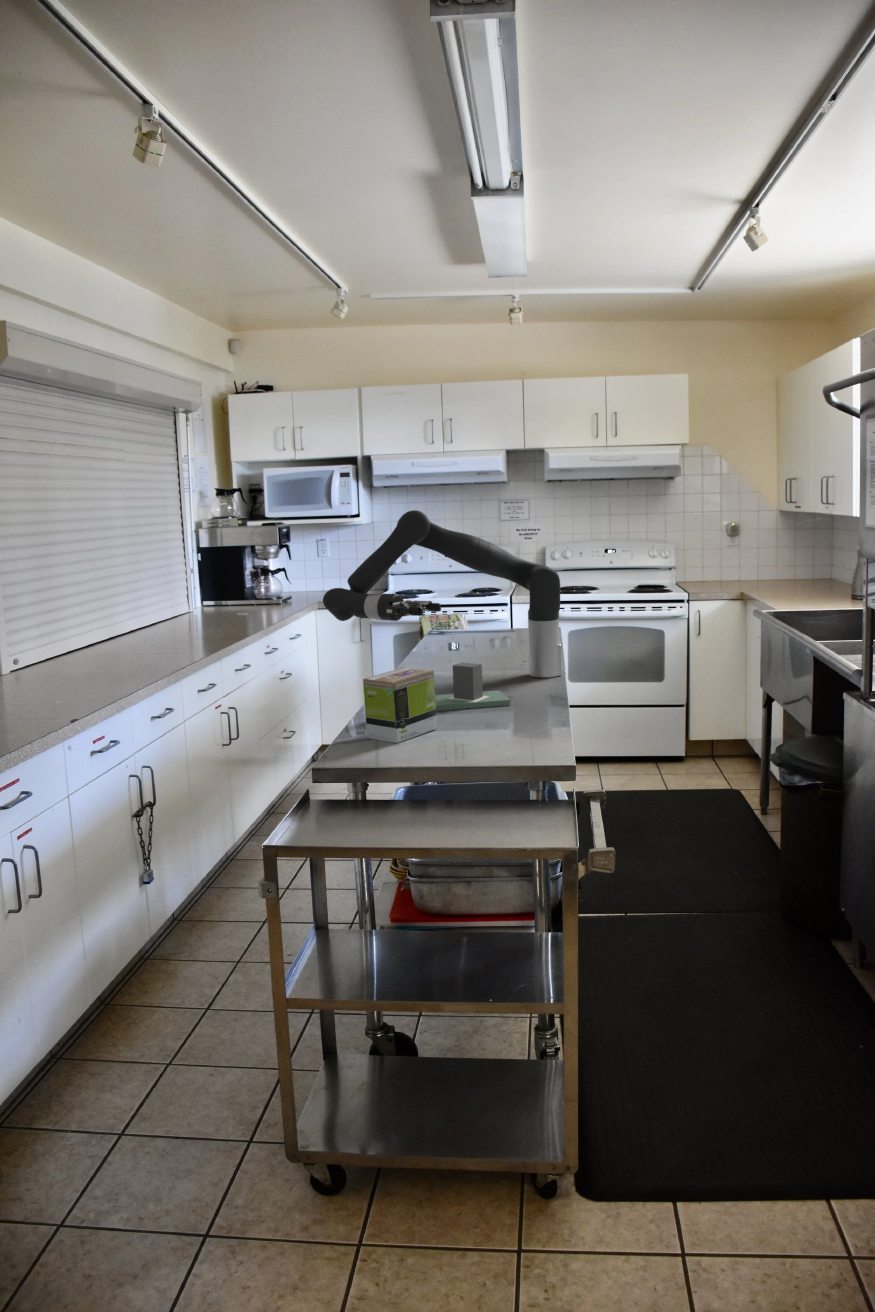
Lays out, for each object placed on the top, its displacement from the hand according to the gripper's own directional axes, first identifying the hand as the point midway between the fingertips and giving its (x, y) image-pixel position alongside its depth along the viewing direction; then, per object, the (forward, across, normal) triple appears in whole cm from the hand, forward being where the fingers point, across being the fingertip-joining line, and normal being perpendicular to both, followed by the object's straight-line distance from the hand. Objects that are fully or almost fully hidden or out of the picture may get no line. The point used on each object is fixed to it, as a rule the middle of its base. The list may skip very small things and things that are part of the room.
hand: (431, 609), depth 256 cm
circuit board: (+11, 0, +25) cm, 27 cm away
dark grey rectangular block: (+11, 0, +23) cm, 26 cm away
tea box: (+14, -34, +25) cm, 45 cm away
